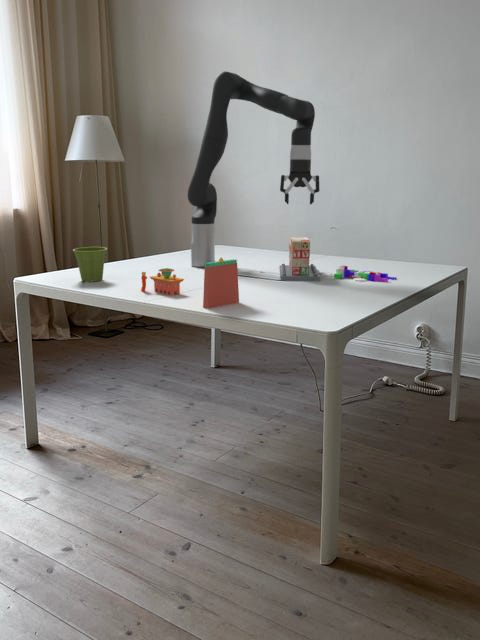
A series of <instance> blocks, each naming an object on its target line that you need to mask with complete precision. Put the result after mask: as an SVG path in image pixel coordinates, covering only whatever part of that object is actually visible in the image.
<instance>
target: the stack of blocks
mask: <svg viewBox="0 0 480 640" xmlns="http://www.w3.org/2000/svg"><path fill="white" fill-rule="evenodd" d="M310 249H311V241H310V239H309V238H308V237H306V236H305V237H292V236H291V237H290V242H288V259H289V261H288V265H289V267H290V270H291V273H292V275H309V266H310V259H311V258H310V256H311V253H310V252H311V250H310Z"/></svg>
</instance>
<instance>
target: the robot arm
mask: <svg viewBox="0 0 480 640" xmlns="http://www.w3.org/2000/svg"><path fill="white" fill-rule="evenodd" d="M212 86H213V87H212V92H211V93H212V94H211V101H210V107H209V111H208V112H209V113H208V116H207V120H206V125H205V129H204V132H203V136H202V140H201V145H200V149H199V154H198V157H197V162H196V166H195V168H194V172H193V174H192V177H191V180H190V183H189V186H188V189H187V200H188V202H189V204H190V205H192V206H193V207H196V210H195V212H194V213H193V215H192V216H191V243H190V249H191V250H190V253H191V255H190V256H191V258H190V259H191V260H190V261H191V262H190V263H191V264H190V265H191V267H196V268H205V267H204V266H205V264H204V263H209V262H216V260H215V259H216V258H215V257H216V256H215V253H216V250H215V249H216V248H215V247H216V246H215V245H216V244H215V233H216V232H215V219H216V217H217V205H218V204H217V203H218V197H217V196H218V194H217V189H216V187H215V185H213V184H212V183H211V182H210V180H211V176H212V174H213V172H214V170H215V168H216V167H217V166H218V164H219V162H220V161H221V160H222V158H223V155H224V153H225V151H226V146H227V143H228V139H229V138H228V137H229V128H228V119H227V118H228V117H227V115H228V114H227V113H228V109H229V104H230V101H231V100H239V101H240V100H241V101H247V102H250V103H253V104H255V105H257V106H259V107H262V108H263V109H265V110H268V111H270V112H273V113H276V114H279V115H283V116H285V117H287V118H289V119H292V120H294V121H296V125H295V128H294V129H292V131H291V137H290V138H291V139H290V140H291V143H290V150H289V151H290V153H289V175H284V174H282V175H280V186H279V190H280V192H281V193H284V202H285V203H286V205H289V197H290V194H289V192H290V191H291V190H292V189H293V188H305V187H306V188H307V189H308V191H309V192H310V193H309V205H313V204H314V201H315V194H316V193H319V192H320V175H318V174H317V175H311V174H312V173H311V166H312V148H311V147H312V130H313V126H314V122H315V117H316V112H315V110H316V109H315V107H314V104H313V103H312V102H310V101H308V100H304V99H298V98H295V97H292V96H289V95H287V94H286V93H283V92H280V91H277V90H274V89H271V88H268V87H263V86H260V85H256V84H254V83H253V82H251V81H249V80H247V79H245V78H244V77H242V76H240V75H238V74H237V73H234V72H230V71H221V72H220V73H218V74H217V75H216V77H215V79H214V82H213V85H212ZM287 179H288V180H289V182H290V184H289V185H288V186H287V188H284V187H285V182H286V181H287ZM311 180H312V181H313V182H315V189H313V188H312V186H311V184H310V182H311Z"/></svg>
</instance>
